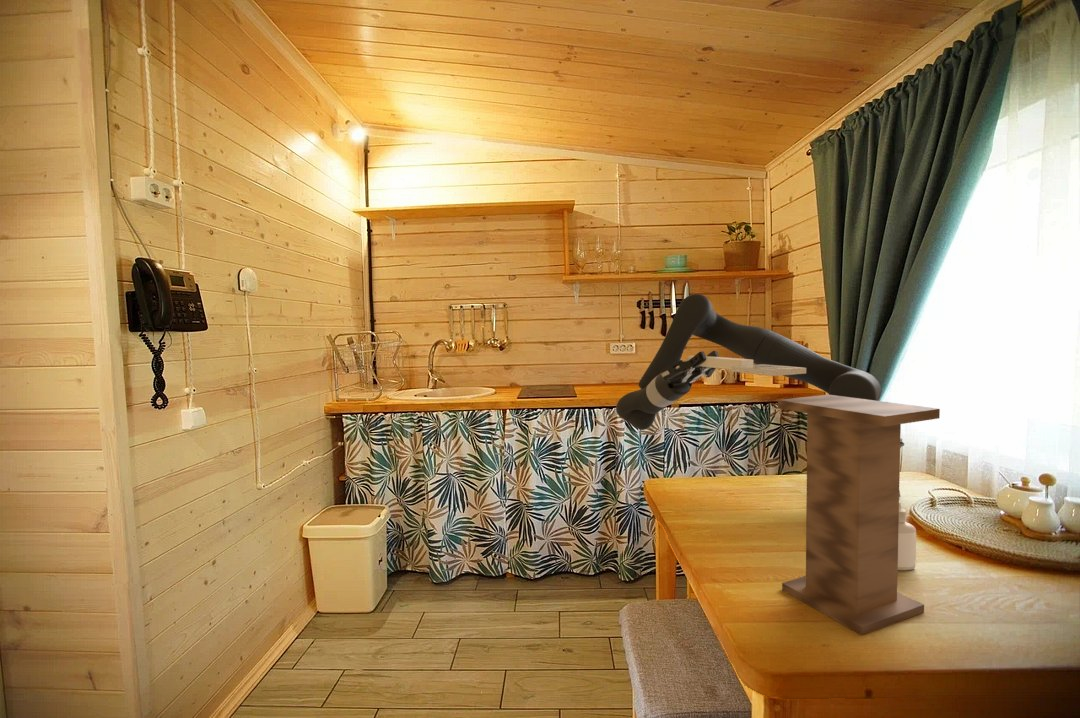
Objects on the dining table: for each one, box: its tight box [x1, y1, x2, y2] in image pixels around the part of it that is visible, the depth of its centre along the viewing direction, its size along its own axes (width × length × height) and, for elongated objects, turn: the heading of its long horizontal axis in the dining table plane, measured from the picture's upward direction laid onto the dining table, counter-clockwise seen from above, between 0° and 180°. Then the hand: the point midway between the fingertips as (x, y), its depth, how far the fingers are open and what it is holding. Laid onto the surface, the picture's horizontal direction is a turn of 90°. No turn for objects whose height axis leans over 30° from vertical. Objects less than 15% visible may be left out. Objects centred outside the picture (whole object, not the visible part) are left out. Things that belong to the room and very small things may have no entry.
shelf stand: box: [777, 394, 941, 636], centre depth 82 cm, size 18×14×32 cm
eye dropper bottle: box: [898, 501, 917, 571], centre depth 93 cm, size 4×6×12 cm
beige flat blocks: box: [687, 355, 806, 377], centre depth 103 cm, size 26×8×2 cm, turn 23°
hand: (710, 355), depth 110 cm, fingers closed on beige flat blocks, 3 cm apart
